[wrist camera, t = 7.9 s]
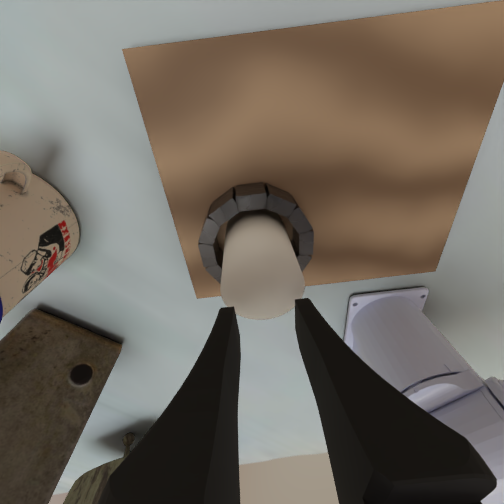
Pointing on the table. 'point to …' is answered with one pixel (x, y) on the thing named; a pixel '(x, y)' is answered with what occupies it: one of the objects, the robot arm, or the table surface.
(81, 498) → the tabletop clock
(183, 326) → the table surface
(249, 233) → the cap plug
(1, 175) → the teacup with lid
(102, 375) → the vintage camera
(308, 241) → the faceted grey ring
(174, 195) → the board
